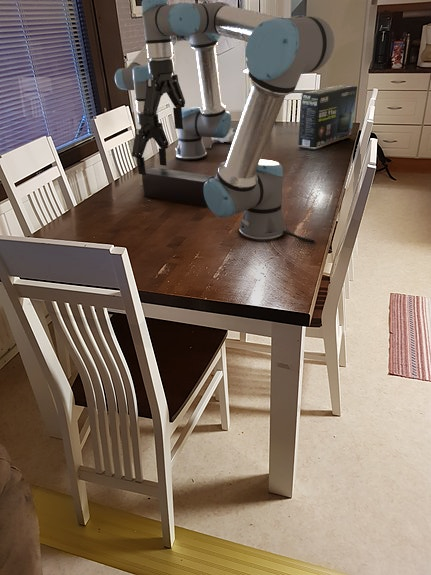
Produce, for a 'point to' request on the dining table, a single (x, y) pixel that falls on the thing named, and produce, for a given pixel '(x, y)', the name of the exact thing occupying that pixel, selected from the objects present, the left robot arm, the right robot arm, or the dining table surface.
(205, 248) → the dining table surface
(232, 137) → the fossil
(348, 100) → the router box
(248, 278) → the dining table surface
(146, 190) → the box
